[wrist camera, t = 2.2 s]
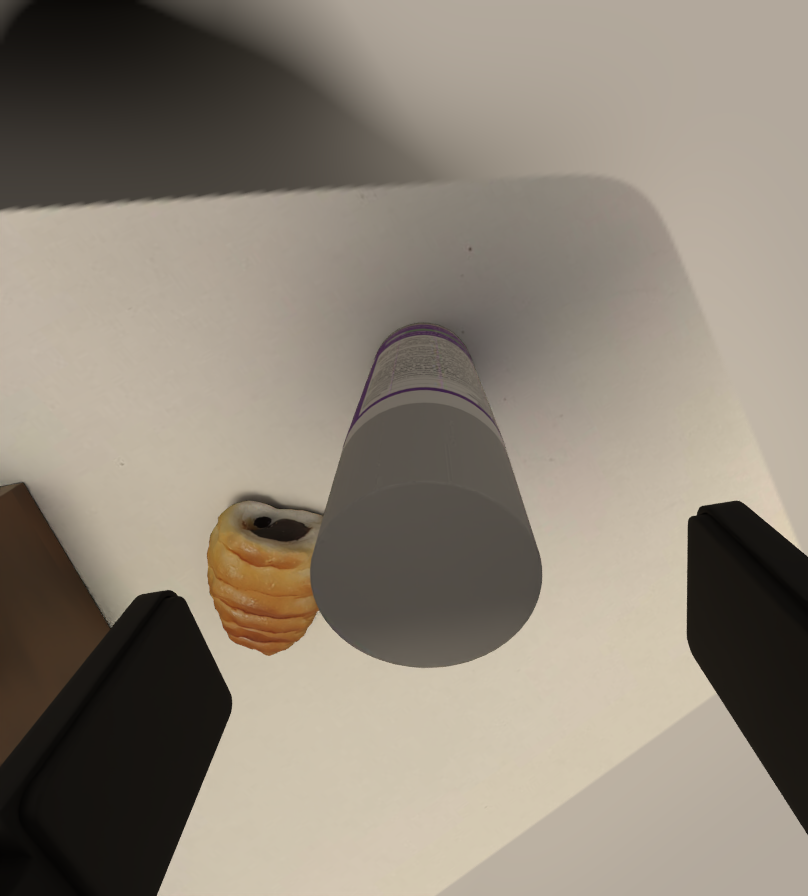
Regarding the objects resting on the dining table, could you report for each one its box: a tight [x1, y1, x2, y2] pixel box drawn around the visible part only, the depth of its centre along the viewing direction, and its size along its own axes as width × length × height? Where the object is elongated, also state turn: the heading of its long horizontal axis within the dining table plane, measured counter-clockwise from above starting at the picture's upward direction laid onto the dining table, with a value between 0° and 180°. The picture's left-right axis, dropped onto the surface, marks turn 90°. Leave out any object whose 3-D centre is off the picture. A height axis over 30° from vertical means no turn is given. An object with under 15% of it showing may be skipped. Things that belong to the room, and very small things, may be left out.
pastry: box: [207, 501, 323, 656], centre depth 26 cm, size 9×7×4 cm
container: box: [310, 323, 542, 668], centre depth 16 cm, size 5×5×15 cm
